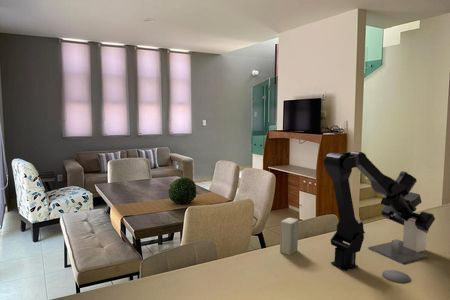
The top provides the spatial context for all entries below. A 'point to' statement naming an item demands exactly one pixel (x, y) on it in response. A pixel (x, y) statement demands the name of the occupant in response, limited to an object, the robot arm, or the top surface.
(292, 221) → the skincare box
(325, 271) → the top surface
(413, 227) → the pink-topped tall block
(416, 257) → the post plate
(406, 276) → the slate coaster
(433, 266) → the top surface
